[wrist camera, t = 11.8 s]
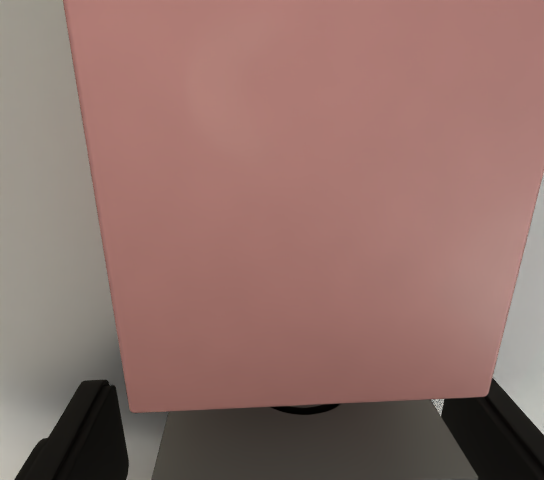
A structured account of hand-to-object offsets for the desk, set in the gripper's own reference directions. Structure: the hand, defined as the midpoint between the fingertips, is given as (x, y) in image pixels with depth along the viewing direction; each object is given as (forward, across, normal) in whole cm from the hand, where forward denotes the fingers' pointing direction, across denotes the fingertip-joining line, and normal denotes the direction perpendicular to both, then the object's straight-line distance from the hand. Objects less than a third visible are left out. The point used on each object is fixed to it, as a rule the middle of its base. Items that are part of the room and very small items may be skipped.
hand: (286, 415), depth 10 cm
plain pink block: (+1, 0, -6) cm, 7 cm away
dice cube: (+1, 0, 0) cm, 1 cm away
